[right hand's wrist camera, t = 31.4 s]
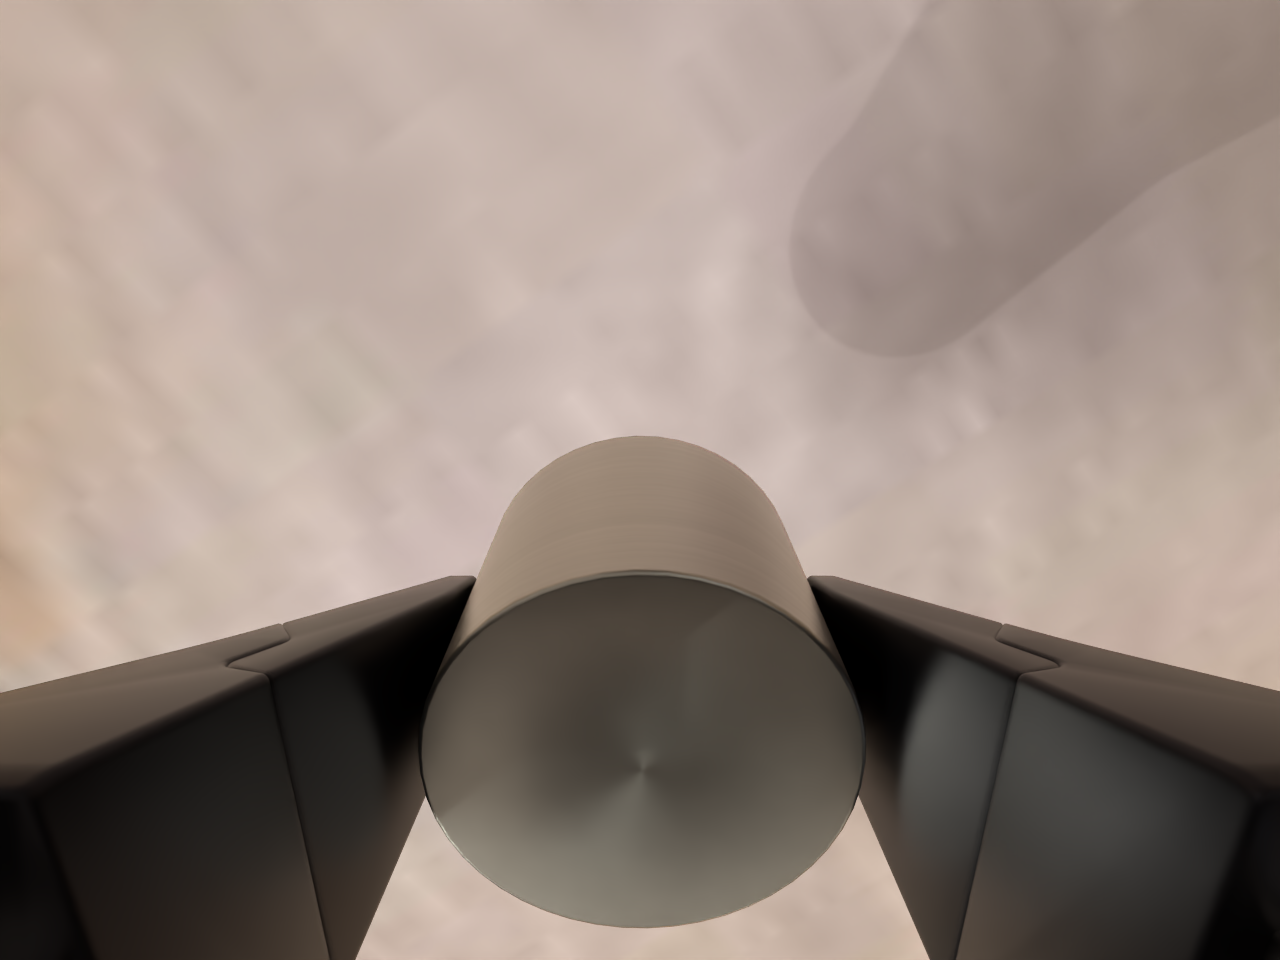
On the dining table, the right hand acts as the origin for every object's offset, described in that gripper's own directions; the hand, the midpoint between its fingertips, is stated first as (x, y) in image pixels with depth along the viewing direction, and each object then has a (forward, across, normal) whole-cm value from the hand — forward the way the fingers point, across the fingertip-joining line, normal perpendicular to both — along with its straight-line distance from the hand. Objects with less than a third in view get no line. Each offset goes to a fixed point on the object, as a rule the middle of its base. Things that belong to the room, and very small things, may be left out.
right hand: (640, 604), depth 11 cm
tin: (+1, 0, 0) cm, 1 cm away
